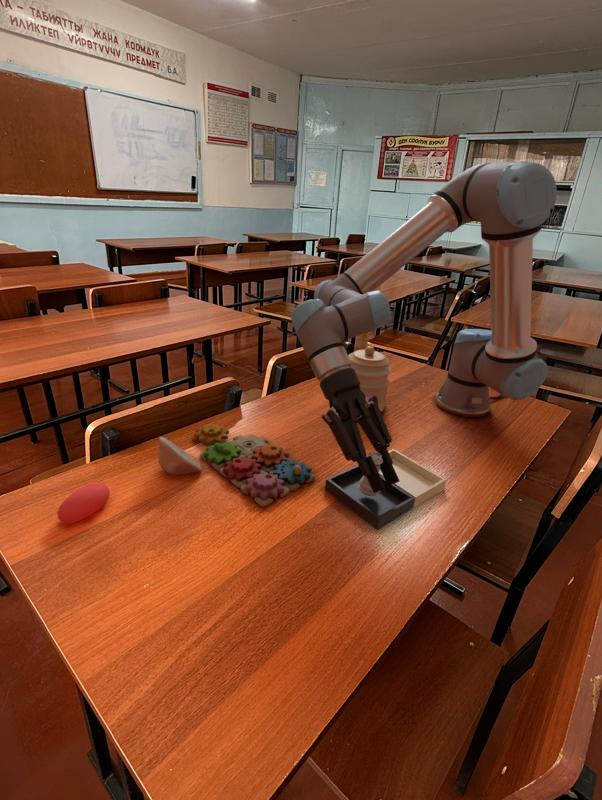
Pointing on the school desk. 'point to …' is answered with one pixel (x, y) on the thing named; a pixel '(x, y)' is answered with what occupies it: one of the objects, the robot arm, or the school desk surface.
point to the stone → (175, 459)
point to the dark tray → (369, 498)
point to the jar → (372, 373)
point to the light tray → (415, 478)
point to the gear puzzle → (253, 464)
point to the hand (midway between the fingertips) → (386, 486)
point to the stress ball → (83, 502)
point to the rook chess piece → (364, 483)
